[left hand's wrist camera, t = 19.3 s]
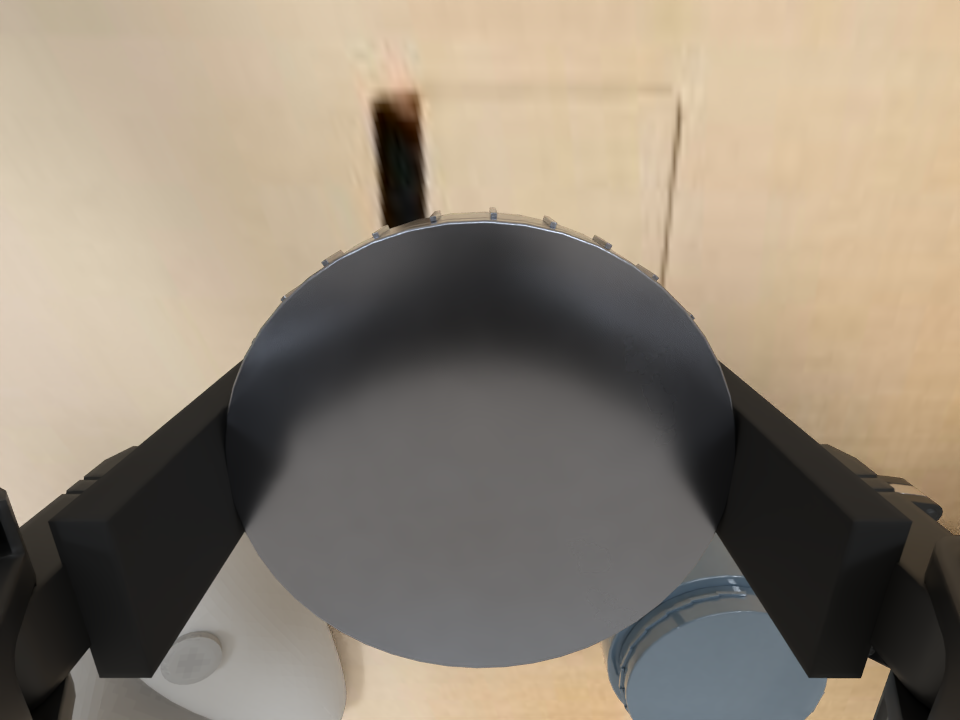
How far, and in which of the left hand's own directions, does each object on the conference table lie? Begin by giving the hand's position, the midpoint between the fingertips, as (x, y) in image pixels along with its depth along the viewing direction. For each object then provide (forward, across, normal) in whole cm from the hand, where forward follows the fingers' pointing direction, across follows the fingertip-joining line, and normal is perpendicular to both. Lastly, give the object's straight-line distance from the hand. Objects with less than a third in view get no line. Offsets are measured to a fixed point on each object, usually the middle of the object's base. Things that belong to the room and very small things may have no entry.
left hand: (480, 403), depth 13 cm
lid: (-3, 0, 0) cm, 3 cm away
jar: (+18, +10, -14) cm, 25 cm away
